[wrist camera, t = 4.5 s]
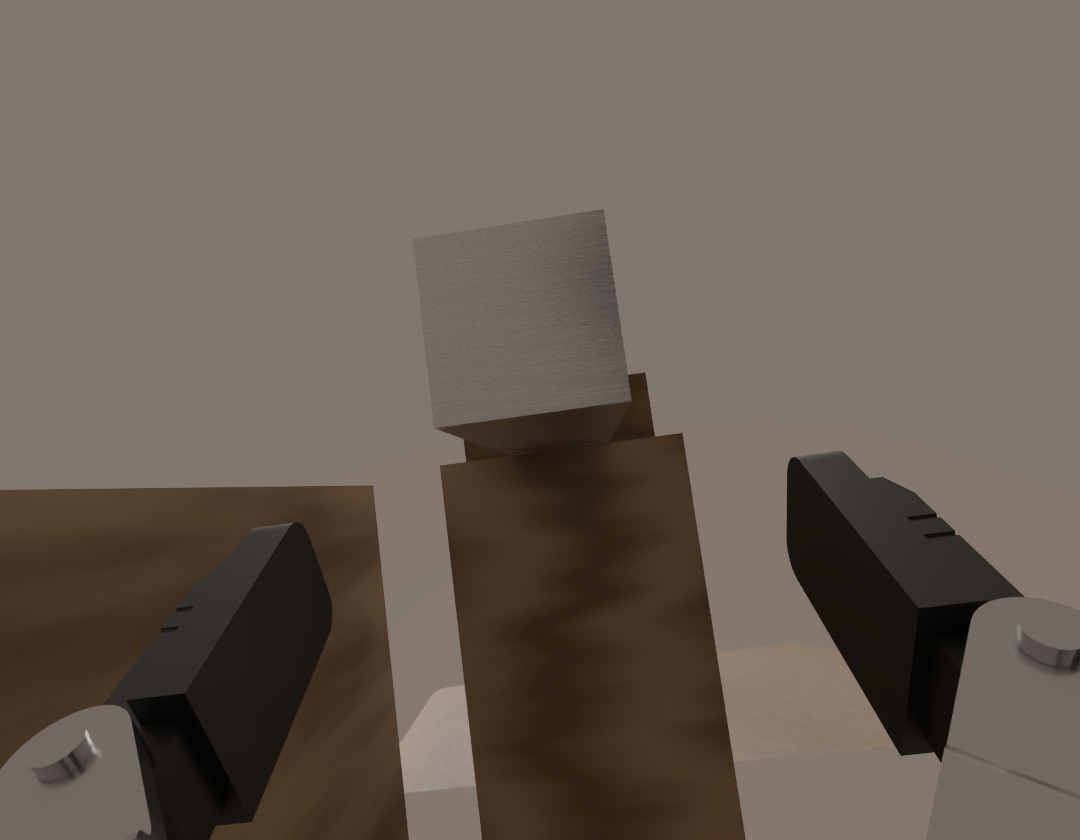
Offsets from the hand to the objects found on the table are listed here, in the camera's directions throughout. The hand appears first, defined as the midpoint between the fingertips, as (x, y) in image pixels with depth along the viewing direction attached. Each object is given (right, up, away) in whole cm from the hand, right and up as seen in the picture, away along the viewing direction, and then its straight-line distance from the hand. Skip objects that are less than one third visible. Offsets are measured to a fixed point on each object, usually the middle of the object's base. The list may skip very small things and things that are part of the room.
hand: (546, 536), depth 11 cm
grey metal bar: (+1, +1, +13) cm, 13 cm away
